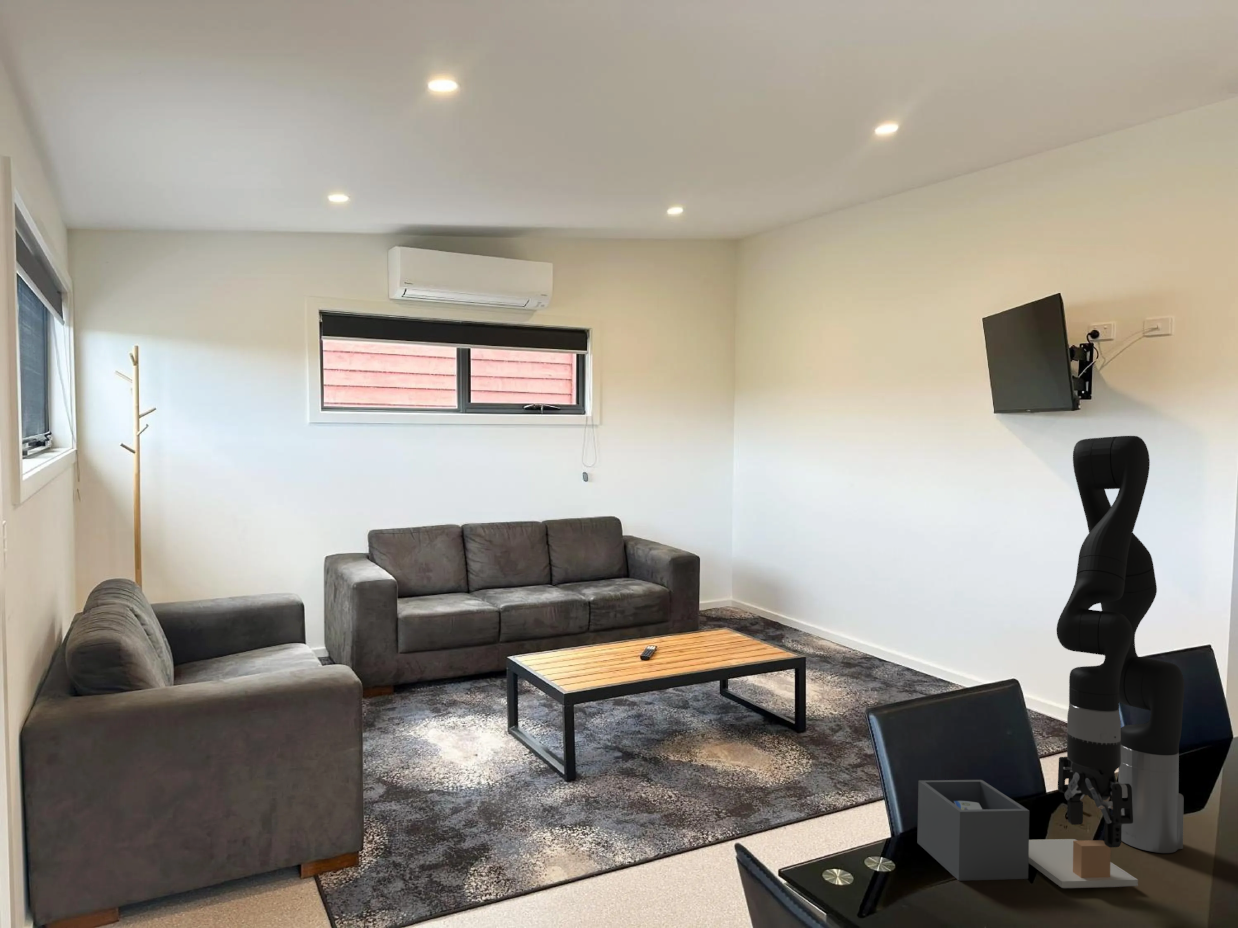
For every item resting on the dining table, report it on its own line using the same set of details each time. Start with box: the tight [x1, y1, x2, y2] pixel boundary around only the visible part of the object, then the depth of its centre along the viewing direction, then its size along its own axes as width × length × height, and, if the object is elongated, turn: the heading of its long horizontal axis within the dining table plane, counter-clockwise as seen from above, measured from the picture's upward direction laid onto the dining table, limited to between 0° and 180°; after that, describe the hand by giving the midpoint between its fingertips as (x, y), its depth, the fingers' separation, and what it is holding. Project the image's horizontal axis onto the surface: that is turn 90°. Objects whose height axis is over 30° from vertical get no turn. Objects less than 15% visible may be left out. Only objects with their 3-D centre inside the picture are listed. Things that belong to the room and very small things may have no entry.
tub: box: [916, 779, 1030, 881], centre depth 140 cm, size 12×14×11 cm
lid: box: [1028, 838, 1139, 889], centre depth 137 cm, size 13×15×7 cm
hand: (1093, 834), depth 132 cm, fingers open, 8 cm apart
